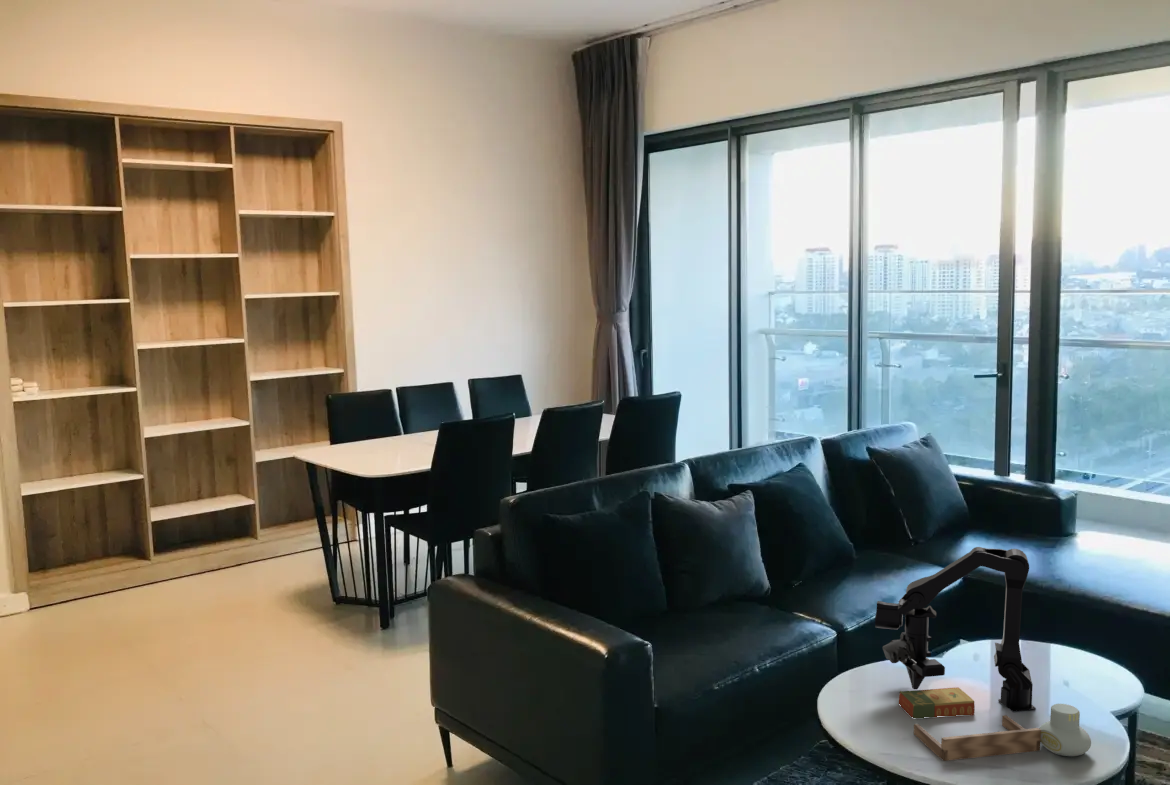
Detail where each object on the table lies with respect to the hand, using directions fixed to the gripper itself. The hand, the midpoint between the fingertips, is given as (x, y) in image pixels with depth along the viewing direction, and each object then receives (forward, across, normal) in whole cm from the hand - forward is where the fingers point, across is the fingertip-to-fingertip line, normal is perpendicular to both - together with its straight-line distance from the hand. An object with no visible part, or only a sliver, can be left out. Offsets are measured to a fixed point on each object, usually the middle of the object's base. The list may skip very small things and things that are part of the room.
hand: (915, 688), depth 249 cm
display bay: (+1, +28, 0) cm, 28 cm away
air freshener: (+1, +35, +17) cm, 39 cm away
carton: (+2, +10, 0) cm, 11 cm away
